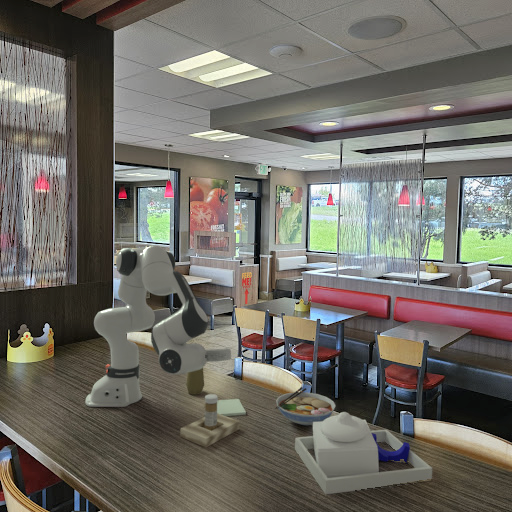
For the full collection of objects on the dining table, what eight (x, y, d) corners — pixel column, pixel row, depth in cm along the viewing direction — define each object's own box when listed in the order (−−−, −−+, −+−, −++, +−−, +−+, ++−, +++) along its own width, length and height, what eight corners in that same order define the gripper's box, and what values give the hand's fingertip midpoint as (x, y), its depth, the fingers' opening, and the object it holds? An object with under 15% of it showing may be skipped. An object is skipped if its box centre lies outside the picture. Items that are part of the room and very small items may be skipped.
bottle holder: (205, 447, 150) (206, 438, 150) (180, 436, 157) (180, 428, 157) (239, 428, 164) (239, 420, 164) (214, 419, 171) (214, 412, 171)
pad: (210, 417, 174) (210, 414, 174) (205, 403, 187) (205, 401, 187) (245, 414, 177) (246, 412, 177) (238, 401, 191) (238, 398, 190)
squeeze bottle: (182, 394, 197) (183, 353, 196) (191, 388, 204) (192, 349, 203) (198, 397, 194) (199, 356, 193) (207, 391, 201) (208, 351, 200)
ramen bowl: (319, 442, 156) (319, 419, 155) (262, 425, 168) (263, 404, 167) (344, 417, 177) (345, 397, 177) (293, 404, 189) (294, 385, 189)
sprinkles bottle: (211, 428, 164) (211, 392, 163) (219, 433, 161) (220, 396, 160) (201, 432, 160) (202, 395, 160) (209, 437, 157) (210, 399, 156)
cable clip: (368, 456, 144) (372, 439, 143) (367, 450, 148) (371, 432, 148) (406, 467, 142) (410, 449, 141) (404, 460, 146) (408, 443, 146)
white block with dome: (319, 478, 133) (316, 427, 132) (313, 447, 151) (311, 401, 150) (379, 476, 132) (376, 424, 131) (366, 444, 150) (364, 399, 149)
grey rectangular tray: (325, 494, 125) (326, 480, 125) (294, 449, 150) (295, 437, 150) (431, 481, 134) (432, 468, 133) (385, 440, 159) (386, 429, 159)
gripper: (222, 345, 143) (236, 343, 156) (164, 348, 149) (183, 346, 162) (223, 366, 142) (237, 362, 155) (165, 368, 148) (184, 364, 161)
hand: (209, 354), depth 159 cm, fingers open, 8 cm apart
